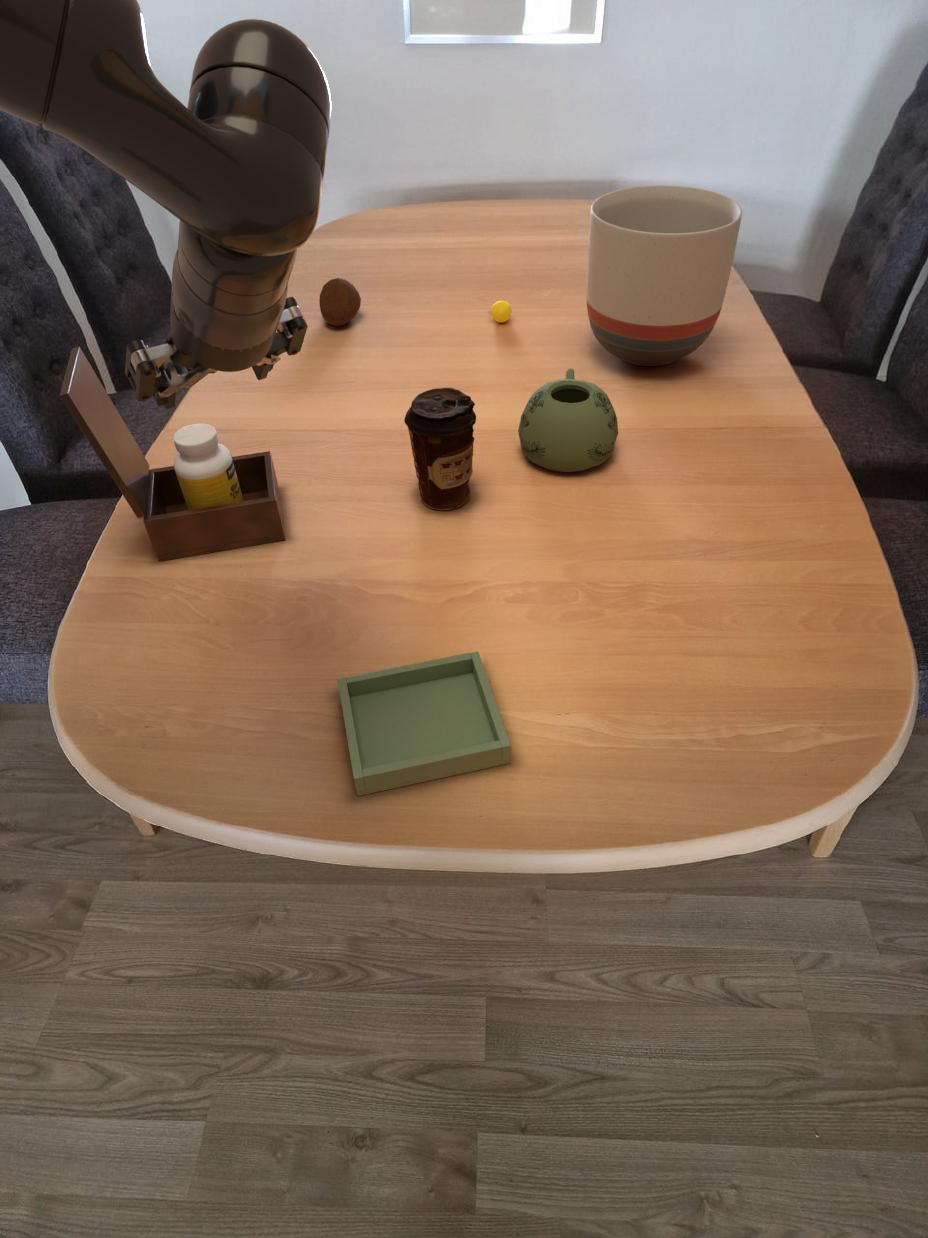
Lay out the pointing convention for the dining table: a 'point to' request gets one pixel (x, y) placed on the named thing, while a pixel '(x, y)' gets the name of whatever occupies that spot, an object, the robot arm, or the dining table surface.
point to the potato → (339, 301)
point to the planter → (658, 269)
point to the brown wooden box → (214, 512)
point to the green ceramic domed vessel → (568, 425)
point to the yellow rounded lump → (501, 311)
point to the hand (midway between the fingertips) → (211, 383)
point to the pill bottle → (204, 468)
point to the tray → (421, 723)
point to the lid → (105, 430)
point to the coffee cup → (442, 446)
